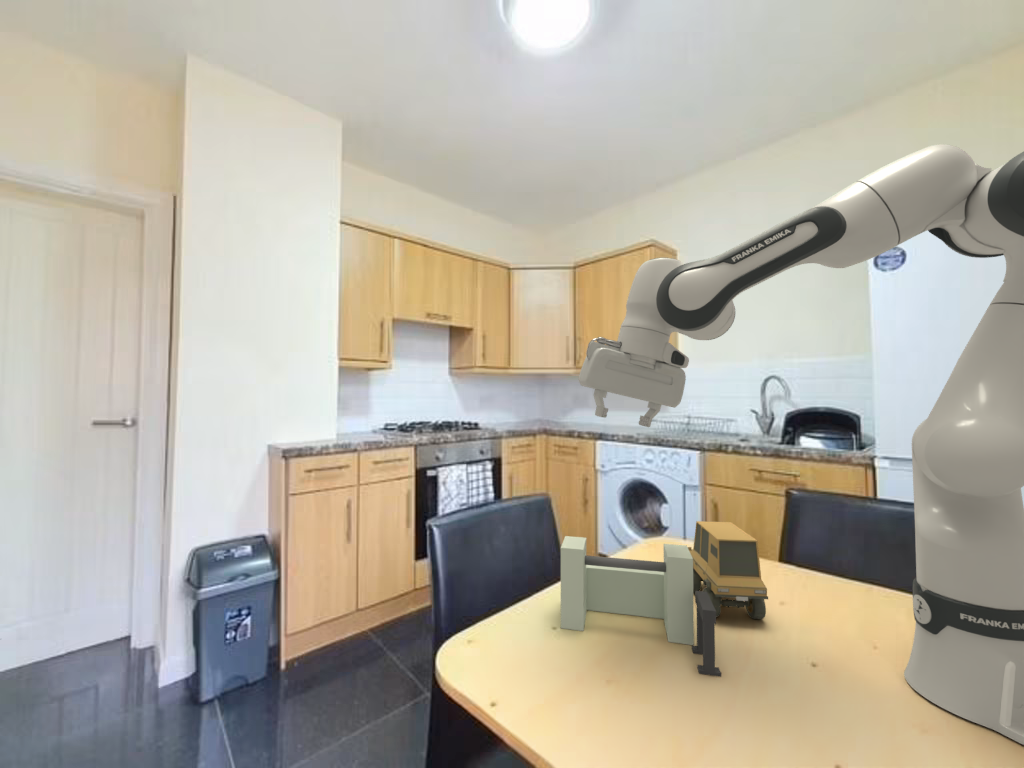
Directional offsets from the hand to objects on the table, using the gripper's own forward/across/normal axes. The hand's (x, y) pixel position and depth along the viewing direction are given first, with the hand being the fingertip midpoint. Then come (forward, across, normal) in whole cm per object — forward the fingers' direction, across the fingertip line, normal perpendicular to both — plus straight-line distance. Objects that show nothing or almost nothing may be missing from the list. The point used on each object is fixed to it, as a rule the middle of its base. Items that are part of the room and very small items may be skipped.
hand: (622, 421), depth 81 cm
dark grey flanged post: (+32, +12, -19) cm, 39 cm away
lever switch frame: (+35, +7, -5) cm, 36 cm away
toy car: (+31, +30, -4) cm, 43 cm away
